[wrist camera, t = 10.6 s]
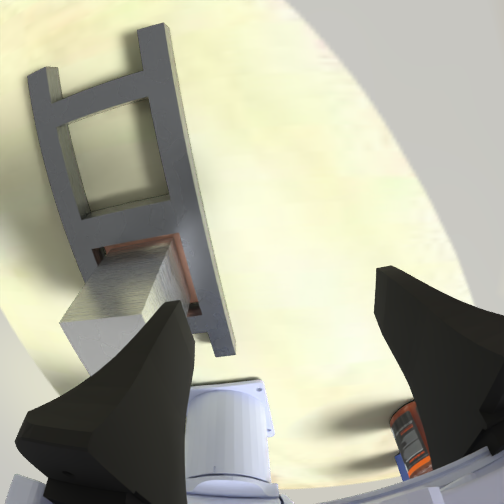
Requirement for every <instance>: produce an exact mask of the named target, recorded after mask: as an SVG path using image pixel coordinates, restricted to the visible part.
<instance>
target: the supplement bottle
mask: <svg viewBox="0 0 504 504" xmlns="http://www.w3.org/2000/svg"><path fill="white" fill-rule="evenodd" d="M390 427H391V430H392V433H393V435H394V438H395V441H396V443H397V446H398V448H399V451H400V454H401V456H402V459H403V462H404V464H405V467H406V470H407V473H408V475H409V478H410V479H412V478H415V477H417V476H420V475H423V474H425V473H428V472H431V471H433V469H432V464H431V458H430V453H429V448H428V444H427V440H426V436H425V432H424V428H423V425H422V421H421V418H420V415H419V412H418V409H417V406H416V403H415V401H413V402H411V403H409V404H407V405H405V406H403V407H402V408H400V409H399V410H398V411H397V412H396V413H395V414H394V415H393V417H392V418H391V421H390Z"/></svg>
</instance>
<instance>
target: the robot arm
mask: <svg viewBox="0 0 504 504" xmlns="http://www.w3.org/2000/svg"><path fill="white" fill-rule="evenodd" d="M374 314H375V317H376V320H377V322H378V325H379V327H380V330H381V332H382V335H383V337H384V339H385V340H386V342H387V344H388V346H389V348H390V350H391V351H392V353H393V355H394V357H395V359H396V361H397V362H398V364H399V366H400V368H401V370H402V372H403V374H404V376H405V378H406V380H407V382H408V384H409V386H410V389H411V392H412V394H413V397H414V400H415V403H416V406H417V409H418V412H419V415H420V418H421V421H422V425H423V428H424V432H425V436H426V440H427V444H428V448H429V453H430V458H431V464H432V469H433V471H431V472H428V473H425V474H423V475H420V476H417V477H415V478H412V479H409V480H406V481H403V482H401V483H397V484H394V485H391V486H388V487H385V488H381V489H378V490H374V491H371V492H367V493H363V494H359V495H355V496H351V497H347V498H342V499H338V500H333V501H329V502H323V503H318V504H504V316H503V315H500V314H496V313H493V312H489V311H486V310H483V309H480V308H477V307H475V306H472V305H469V304H467V303H464V302H462V301H459V300H457V299H455V298H453V297H451V296H449V295H447V294H445V293H442V292H440V291H439V290H437V289H435V288H433V287H431V286H429V285H427V284H425V283H423V282H422V281H420V280H418V279H416V278H414V277H413V276H411V275H409V274H407V273H405V272H404V271H402V270H400V269H398V268H396V267H393V266H386V267H381V268H376V289H375V305H374ZM194 357H195V341H194V338H193V335H192V333H191V330H190V327H189V324H188V321H187V318H186V315H185V312H184V309H183V306H182V303H181V300H176V301H168V302H164V303H163V304H162V305H161V307H160V308H159V309H158V310H157V311H156V312H155V313H154V315H153V316H152V317H151V318H150V319H149V320H148V322H147V323H146V324H145V325H144V326H143V327H142V328H141V330H140V331H139V332H138V333H137V334H136V335H135V336H134V337H133V338H132V339H131V340H130V341H129V342H128V344H127V345H126V346H125V347H124V348H123V349H122V350H121V351H120V352H119V353H118V354H117V355H116V356H115V357H114V358H112V359H111V360H110V361H109V362H108V363H107V364H106V365H104V366H103V367H102V368H101V369H100V370H98V371H97V372H96V373H95V374H93V375H92V376H90V377H89V378H88V379H86V380H85V381H84V382H82V383H81V384H79V385H78V386H76V387H75V388H73V389H72V390H70V391H68V392H67V393H65V394H63V395H62V396H60V397H58V398H56V399H54V400H52V401H51V402H48V403H46V404H44V405H42V406H40V407H38V408H35V409H34V410H31V411H28V413H27V415H26V417H25V419H24V421H23V423H22V426H21V428H20V430H19V433H18V435H17V437H16V440H15V444H16V447H17V449H18V450H19V452H20V453H21V454H22V455H23V456H24V457H25V458H26V459H27V460H28V461H29V462H30V463H31V464H33V465H34V466H35V467H36V468H37V469H38V470H39V471H41V472H42V473H43V474H44V475H46V476H47V477H48V481H47V484H46V485H45V484H44V483H42V482H40V481H37V480H34V479H31V478H28V477H25V476H22V475H19V474H15V475H14V478H13V480H12V483H11V486H10V489H9V492H8V495H7V498H6V501H5V504H295V503H294V502H293V501H292V500H291V499H290V498H289V497H288V496H287V495H286V494H279V490H278V484H276V483H271V474H270V462H269V451H268V440H267V437H272V436H274V435H275V431H274V427H273V422H272V418H271V413H270V408H269V404H268V399H267V394H266V390H265V385H264V382H263V381H262V380H250V381H242V382H234V383H225V384H215V385H204V386H191V382H192V376H193V370H194ZM186 417H187V423H186V432H185V422H186Z"/></svg>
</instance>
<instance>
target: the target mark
mask: <svg viewBox="0 0 504 504" xmlns="http://www.w3.org/2000/svg"><path fill="white" fill-rule="evenodd" d="M170 237H174V240H175V244H176V248H177V251H178V255H179V258H180V261H181V265H182V268H183V272H184V275H185V278H186V282H187V285H188V288H189V291H190V295H191V299H190V303H194V302H198V299H197V296H196V292H195V289H194V285H193V282H192V278H191V275H190V271H189V268H188V264H187V260H186V257H185V253H184V249H183V246H182V242H181V238H180V234H179V233H174V234H168V235H163V236H157V237H152V238H146V239H141V240H136V241H130V242H125V243H120V244H115V245H110V246H105V247H104V248H105V251H106V254H107V253H108V252H109V251H110V249H112V248H117V247H122V246H127V245H133V244H138V243H143V242H148V241H154V240H159V239H164V238H170Z"/></svg>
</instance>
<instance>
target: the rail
mask: <svg viewBox="0 0 504 504" xmlns="http://www.w3.org/2000/svg"><path fill="white" fill-rule="evenodd" d="M137 34H138V40H139V46H140V53H141V59H142V65H143V70H144V71H140V72H137V73H134V74H130V75H127V76H124V77H121V78H118V79H115V80H112V81H109V82H106V83H103V84H100V85H98V86H95V87H92V88H89V89H87V90H84V91H82V92H79V93H76V94H74V95H71V96H69V97H67V98H64V99H63V97H62V92H61V86H60V79H59V73H58V68H56V67H44V68H42V69H40V70H38V71H36V72H34V73H32V74H30V75H28V76H27V78H28V85H29V91H30V98H31V104H32V109H33V115H34V120H35V125H36V130H37V134H38V139H39V143H40V147H41V152H42V156H43V160H44V164H45V167H46V171H47V175H48V178H49V182H50V185H51V189H52V192H53V196H54V199H55V202H56V205H57V208H58V212H59V215H60V218H61V221H62V224H63V226H64V229H65V232H66V235H67V238H68V241H69V243H70V246H71V249H72V251H73V254H74V257H75V259H76V262H77V264H78V267H79V269H80V272H81V274H82V276H83V279H84V281H85V283H86V282H87V281H88V279H89V278H90V276H91V275H92V274H93V272H94V271H95V269H96V268H97V267H98V265H99V264H100V263H101V261H102V260H103V259H104V257H105V253H104V250H103V247H105V246H110V245H115V244H120V243H125V242H130V241H136V240H141V239H146V238H152V237H157V236H163V235H168V234H174V233H179V234H180V238H181V242H182V246H183V249H184V253H185V257H186V260H187V264H188V268H189V271H190V275H191V278H192V282H193V285H194V289H195V292H196V296H197V299H198V302H199V303H195V304H189V308H188V313H187V321H188V324H189V327H190V330H191V333H192V334H196V333H204V332H208V335H209V338H210V341H211V344H212V348H213V351H214V354H215V357H222V356H230V355H236V341H235V337H234V333H233V329H232V325H231V321H230V317H229V313H228V309H227V305H226V301H225V297H224V293H223V289H222V285H221V280H220V276H219V272H218V268H217V264H216V259H215V255H214V251H213V246H212V242H211V238H210V233H209V229H208V224H207V220H206V215H205V211H204V206H203V202H202V197H201V192H200V188H199V183H198V178H197V174H196V169H195V164H194V159H193V154H192V149H191V144H190V139H189V134H188V129H187V124H186V119H185V114H184V108H183V103H182V98H181V92H180V87H179V81H178V76H177V70H176V65H175V59H174V53H173V47H172V41H171V35H170V29H169V27H168V26H167V25H166V24H165V23H160V24H156V25H153V26H149V27H146V28H142V29H139V30H137ZM148 98H149V103H150V108H151V113H152V118H153V123H154V128H155V133H156V138H157V142H158V147H159V152H160V156H161V161H162V165H163V169H164V174H165V178H166V182H167V186H168V191H169V194H168V195H163V196H158V197H153V198H149V199H144V200H140V201H135V202H131V203H126V204H122V205H118V206H113V207H109V208H105V209H101V210H97V211H93V212H91V211H90V208H89V205H88V201H87V198H86V195H85V191H84V188H83V184H82V181H81V177H80V173H79V169H78V166H77V162H76V158H75V154H74V150H73V145H72V141H71V137H70V132H69V128H68V124H71V123H73V122H76V121H79V120H82V119H84V118H87V117H90V116H93V115H96V114H99V113H101V112H104V111H108V110H111V109H114V108H117V107H120V106H123V105H127V104H130V103H133V102H137V101H140V100H144V99H148Z"/></svg>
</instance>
